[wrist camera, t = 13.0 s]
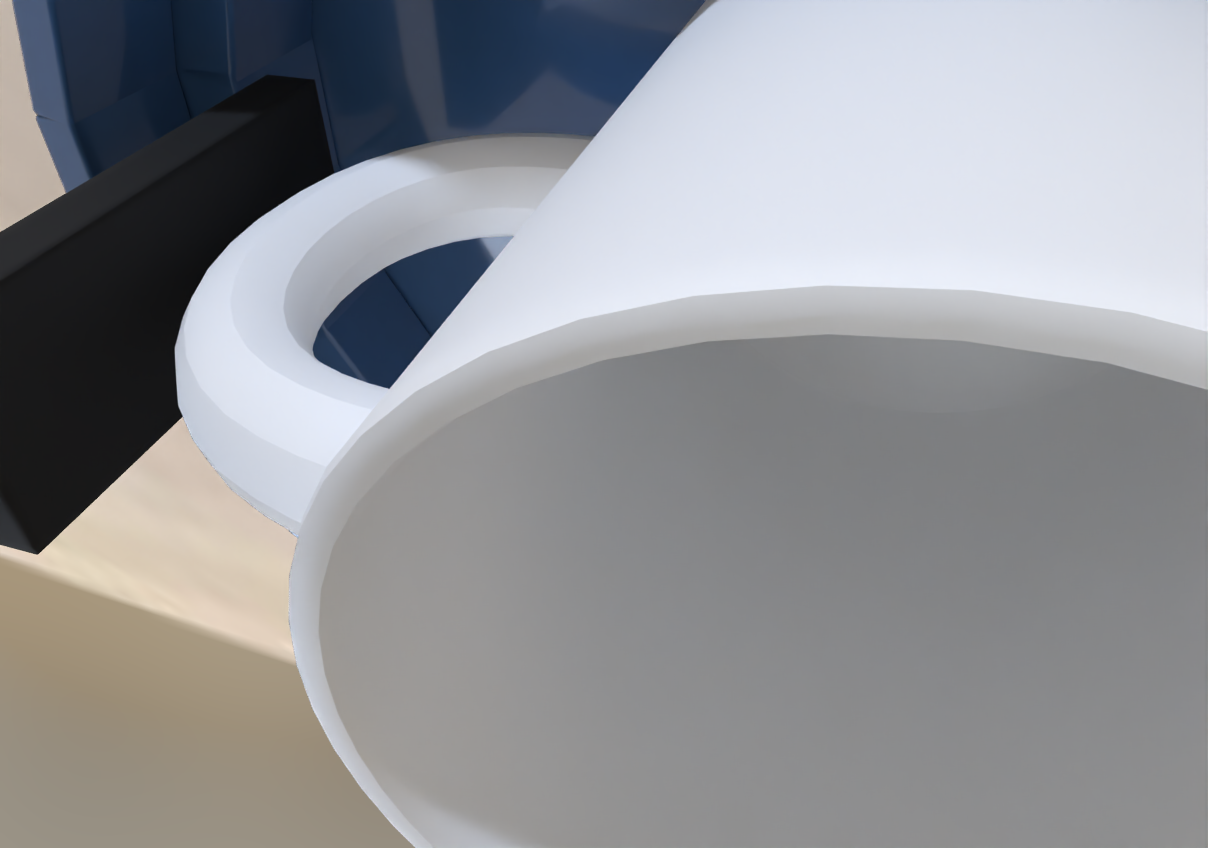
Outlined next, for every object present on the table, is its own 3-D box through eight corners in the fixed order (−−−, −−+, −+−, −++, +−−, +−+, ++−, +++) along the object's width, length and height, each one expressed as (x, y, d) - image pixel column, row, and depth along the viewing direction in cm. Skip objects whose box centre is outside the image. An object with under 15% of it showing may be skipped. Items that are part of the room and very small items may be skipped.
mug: (451, 307, 18) (51, 792, 10) (416, -217, 12) (-481, -9, 5) (1121, 459, 15) (1247, 1243, 8) (1436, -107, 10) (2822, 638, 2)
